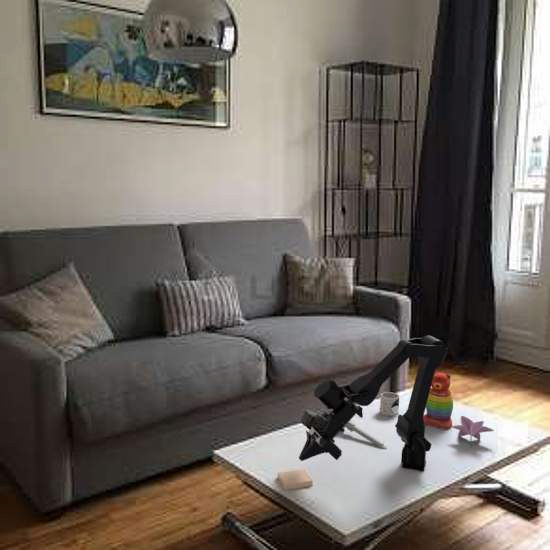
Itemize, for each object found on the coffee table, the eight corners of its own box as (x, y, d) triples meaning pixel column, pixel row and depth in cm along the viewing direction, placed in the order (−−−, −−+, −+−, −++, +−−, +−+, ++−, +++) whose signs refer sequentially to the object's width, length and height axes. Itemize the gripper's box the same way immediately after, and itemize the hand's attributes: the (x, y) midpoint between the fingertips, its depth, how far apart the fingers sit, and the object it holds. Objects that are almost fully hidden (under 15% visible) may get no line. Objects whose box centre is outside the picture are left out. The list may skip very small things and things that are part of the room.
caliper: (336, 429, 214) (336, 412, 212) (338, 429, 214) (338, 411, 213) (384, 450, 199) (385, 431, 198) (386, 449, 200) (387, 430, 199)
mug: (394, 417, 224) (395, 400, 223) (377, 413, 227) (377, 396, 226) (404, 408, 232) (405, 391, 231) (387, 405, 236) (388, 388, 235)
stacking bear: (417, 423, 220) (420, 374, 217) (428, 414, 228) (431, 366, 225) (447, 430, 214) (451, 380, 211) (457, 421, 222) (461, 372, 219)
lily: (497, 450, 202) (495, 419, 205) (481, 446, 194) (480, 415, 197) (462, 450, 210) (461, 421, 213) (446, 447, 202) (444, 416, 205)
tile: (304, 469, 182) (277, 472, 179) (312, 480, 175) (285, 484, 173) (303, 475, 182) (277, 479, 180) (312, 487, 176) (285, 491, 173)
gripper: (308, 389, 184) (271, 429, 183) (332, 413, 167) (291, 457, 165) (332, 412, 188) (296, 451, 186) (358, 438, 170) (319, 481, 169)
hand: (300, 459), depth 177 cm, fingers closed
